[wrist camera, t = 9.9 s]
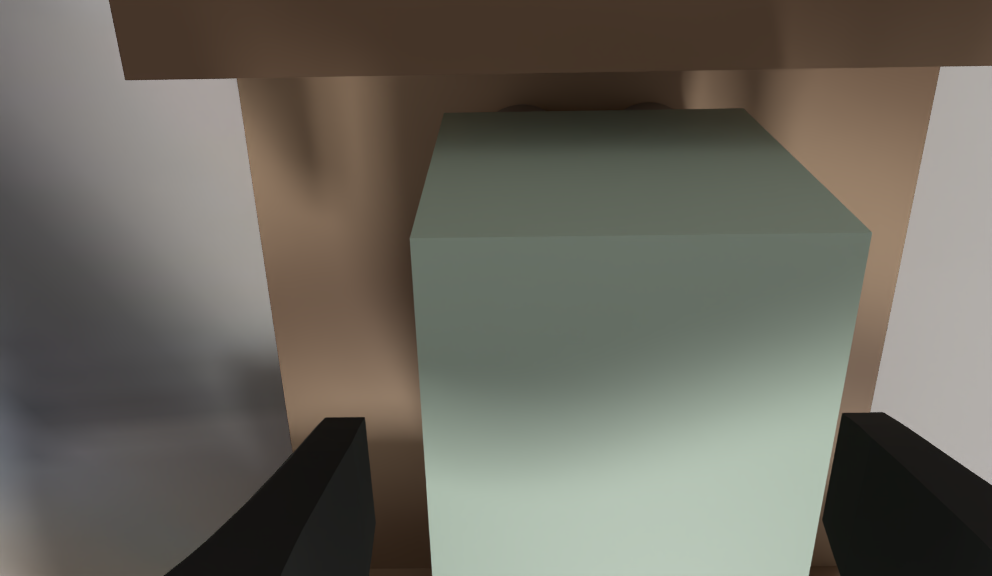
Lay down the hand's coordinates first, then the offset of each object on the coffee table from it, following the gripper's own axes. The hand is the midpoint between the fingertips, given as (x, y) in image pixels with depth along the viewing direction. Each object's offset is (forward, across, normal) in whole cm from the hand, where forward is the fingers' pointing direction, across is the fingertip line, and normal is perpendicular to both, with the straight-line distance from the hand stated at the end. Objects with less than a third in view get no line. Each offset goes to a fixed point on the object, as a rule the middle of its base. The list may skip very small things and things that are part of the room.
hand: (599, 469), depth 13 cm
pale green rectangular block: (+2, 0, 0) cm, 2 cm away
